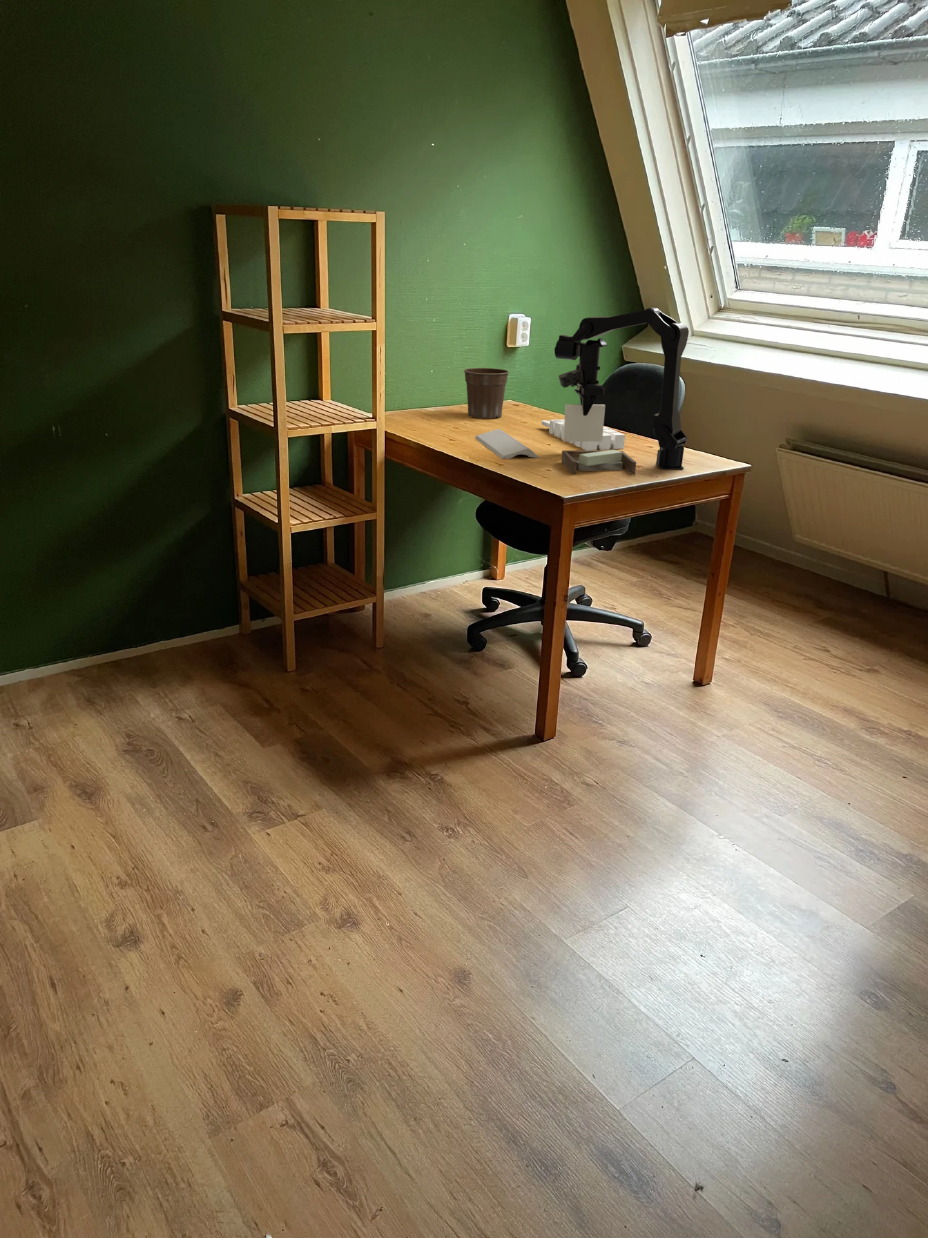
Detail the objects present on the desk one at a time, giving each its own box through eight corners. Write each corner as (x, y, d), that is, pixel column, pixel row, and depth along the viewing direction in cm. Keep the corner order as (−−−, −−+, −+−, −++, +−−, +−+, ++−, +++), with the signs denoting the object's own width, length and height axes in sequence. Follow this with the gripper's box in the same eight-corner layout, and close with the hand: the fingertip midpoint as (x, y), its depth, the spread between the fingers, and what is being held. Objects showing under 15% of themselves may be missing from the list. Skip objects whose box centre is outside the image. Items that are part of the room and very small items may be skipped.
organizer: (588, 436, 278) (539, 415, 307) (586, 451, 279) (538, 429, 309) (625, 434, 282) (573, 413, 312) (623, 449, 284) (572, 427, 314)
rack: (621, 462, 266) (622, 450, 264) (635, 474, 253) (636, 462, 252) (561, 462, 264) (562, 450, 262) (572, 474, 251) (573, 461, 249)
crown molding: (474, 439, 291) (474, 428, 290) (510, 439, 294) (510, 428, 293) (502, 461, 265) (502, 449, 264) (541, 460, 269) (542, 448, 267)
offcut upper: (612, 458, 262) (613, 449, 261) (621, 460, 259) (622, 452, 258) (578, 462, 255) (579, 454, 254) (587, 465, 252) (588, 456, 251)
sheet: (601, 441, 276) (604, 404, 272) (602, 441, 275) (605, 405, 271) (562, 440, 275) (565, 404, 270) (563, 441, 274) (566, 404, 270)
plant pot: (458, 411, 333) (459, 366, 326) (501, 411, 336) (503, 367, 329) (466, 420, 318) (468, 373, 312) (511, 420, 321) (513, 373, 315)
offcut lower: (617, 468, 261) (618, 460, 260) (621, 471, 258) (622, 462, 257) (574, 469, 258) (575, 460, 257) (578, 472, 255) (579, 463, 254)
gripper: (555, 357, 273) (552, 409, 280) (569, 365, 256) (565, 420, 263) (591, 357, 275) (587, 409, 281) (607, 366, 258) (602, 421, 264)
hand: (584, 415), depth 272 cm, fingers closed on sheet, 1 cm apart
